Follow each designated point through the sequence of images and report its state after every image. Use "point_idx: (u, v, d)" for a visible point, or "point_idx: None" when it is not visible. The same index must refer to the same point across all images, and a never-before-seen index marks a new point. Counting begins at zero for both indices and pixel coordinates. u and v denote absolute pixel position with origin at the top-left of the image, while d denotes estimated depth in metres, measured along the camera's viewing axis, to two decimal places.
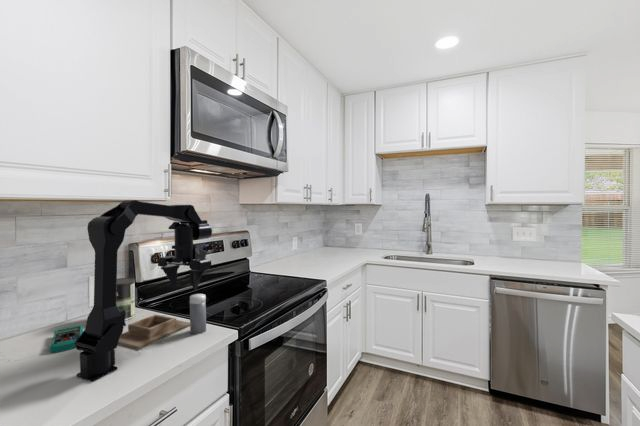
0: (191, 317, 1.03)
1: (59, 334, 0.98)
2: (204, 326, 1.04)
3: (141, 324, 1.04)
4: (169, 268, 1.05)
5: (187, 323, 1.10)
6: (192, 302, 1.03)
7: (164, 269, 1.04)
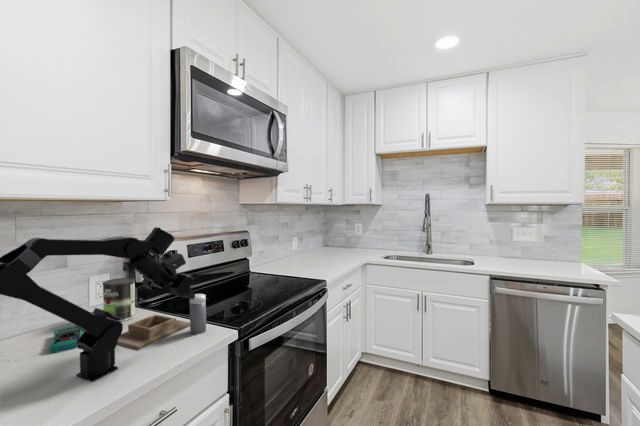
0: (191, 317, 1.03)
1: (59, 334, 0.98)
2: (204, 326, 1.04)
3: (141, 324, 1.04)
4: (158, 286, 0.98)
5: (187, 323, 1.10)
6: (192, 302, 1.03)
7: None
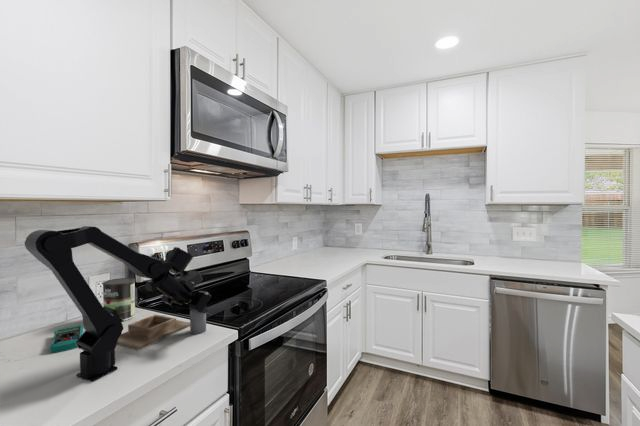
0: (191, 317, 1.03)
1: (59, 334, 0.98)
2: (204, 326, 1.04)
3: (141, 324, 1.04)
4: (180, 303, 1.03)
5: (187, 323, 1.10)
6: None
7: (176, 306, 1.03)
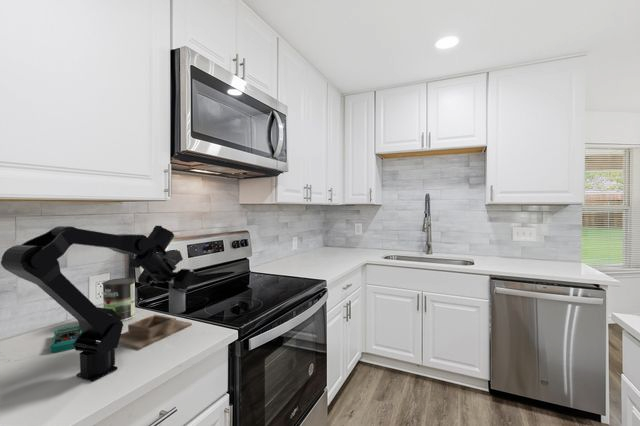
0: (171, 297, 1.03)
1: (59, 334, 0.98)
2: (184, 305, 1.05)
3: (141, 324, 1.04)
4: (159, 283, 1.02)
5: (187, 323, 1.10)
6: (172, 281, 1.02)
7: (155, 286, 1.01)
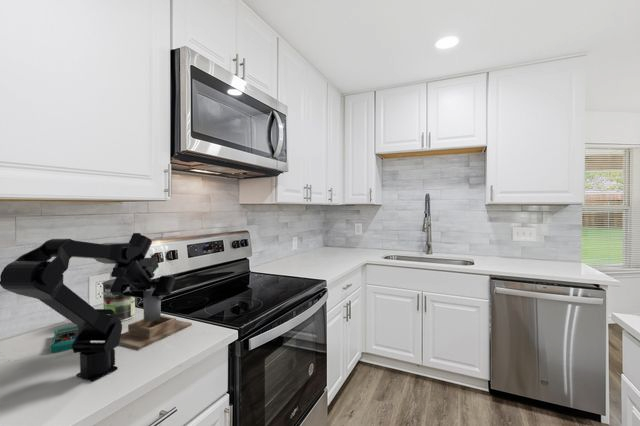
0: (147, 305, 1.01)
1: (59, 334, 0.98)
2: (160, 312, 1.04)
3: (141, 324, 1.04)
4: (134, 292, 0.99)
5: (187, 323, 1.10)
6: None
7: (129, 296, 0.98)
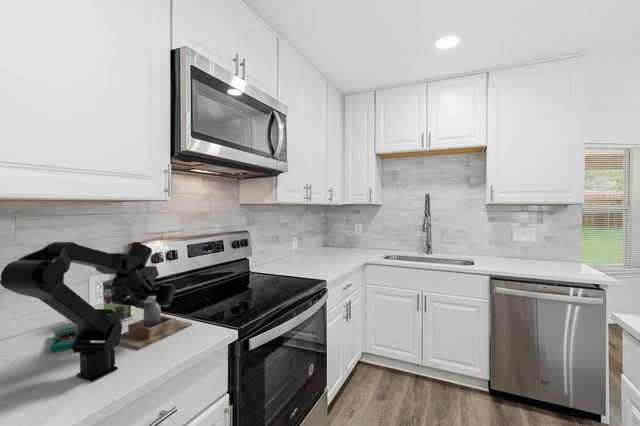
0: (147, 317, 1.01)
1: (59, 334, 0.98)
2: None
3: (141, 324, 1.04)
4: (128, 301, 0.99)
5: (187, 323, 1.10)
6: (149, 301, 1.01)
7: (124, 304, 0.99)
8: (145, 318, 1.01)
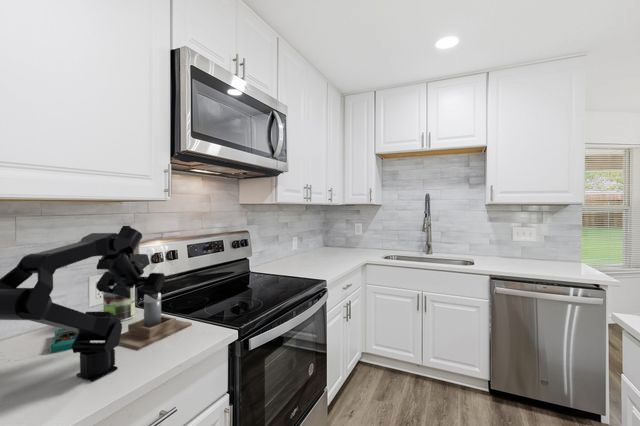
0: (147, 316, 1.01)
1: (59, 334, 0.98)
2: None
3: (141, 324, 1.04)
4: (115, 289, 0.93)
5: (187, 323, 1.10)
6: (149, 301, 1.01)
7: (110, 293, 0.93)
8: (145, 318, 1.01)
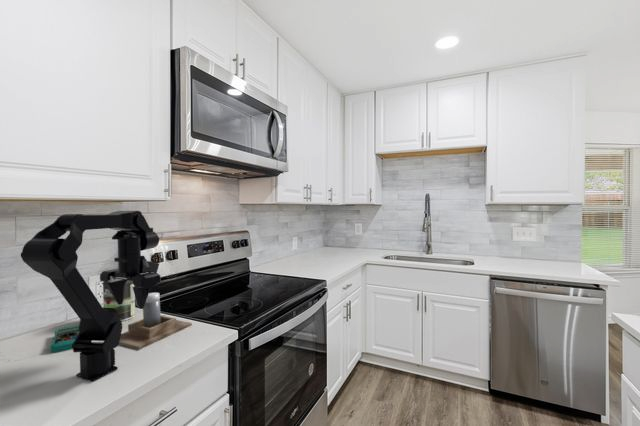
0: (146, 317, 1.01)
1: (60, 334, 0.98)
2: None
3: (141, 324, 1.04)
4: (113, 283, 0.92)
5: (187, 323, 1.10)
6: (148, 301, 1.01)
7: (107, 285, 0.91)
8: (144, 318, 1.01)
